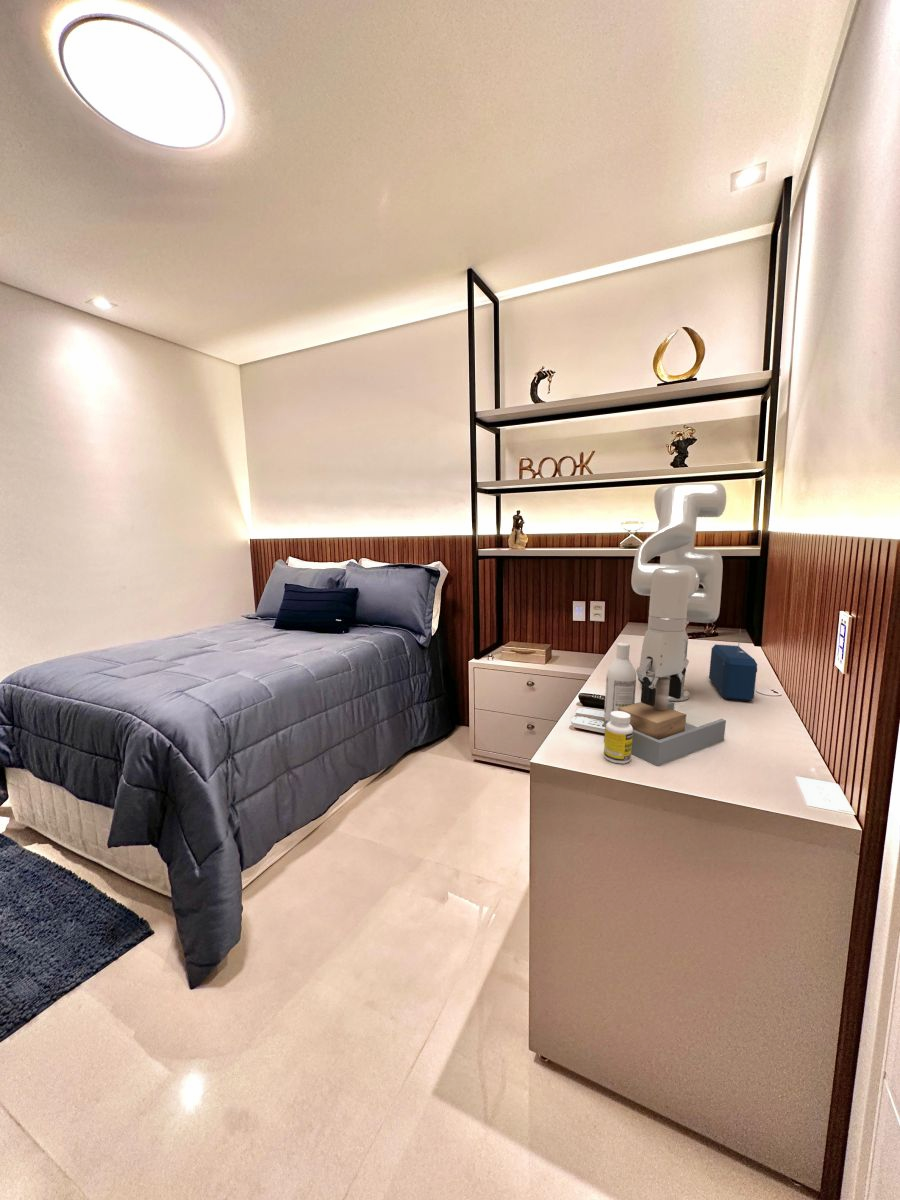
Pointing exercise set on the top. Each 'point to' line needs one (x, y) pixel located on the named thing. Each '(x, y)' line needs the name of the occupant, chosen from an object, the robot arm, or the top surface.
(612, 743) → the supplement bottle
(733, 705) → the top surface
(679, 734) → the bay
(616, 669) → the bath foam
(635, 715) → the block
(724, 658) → the radio
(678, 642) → the robot arm
